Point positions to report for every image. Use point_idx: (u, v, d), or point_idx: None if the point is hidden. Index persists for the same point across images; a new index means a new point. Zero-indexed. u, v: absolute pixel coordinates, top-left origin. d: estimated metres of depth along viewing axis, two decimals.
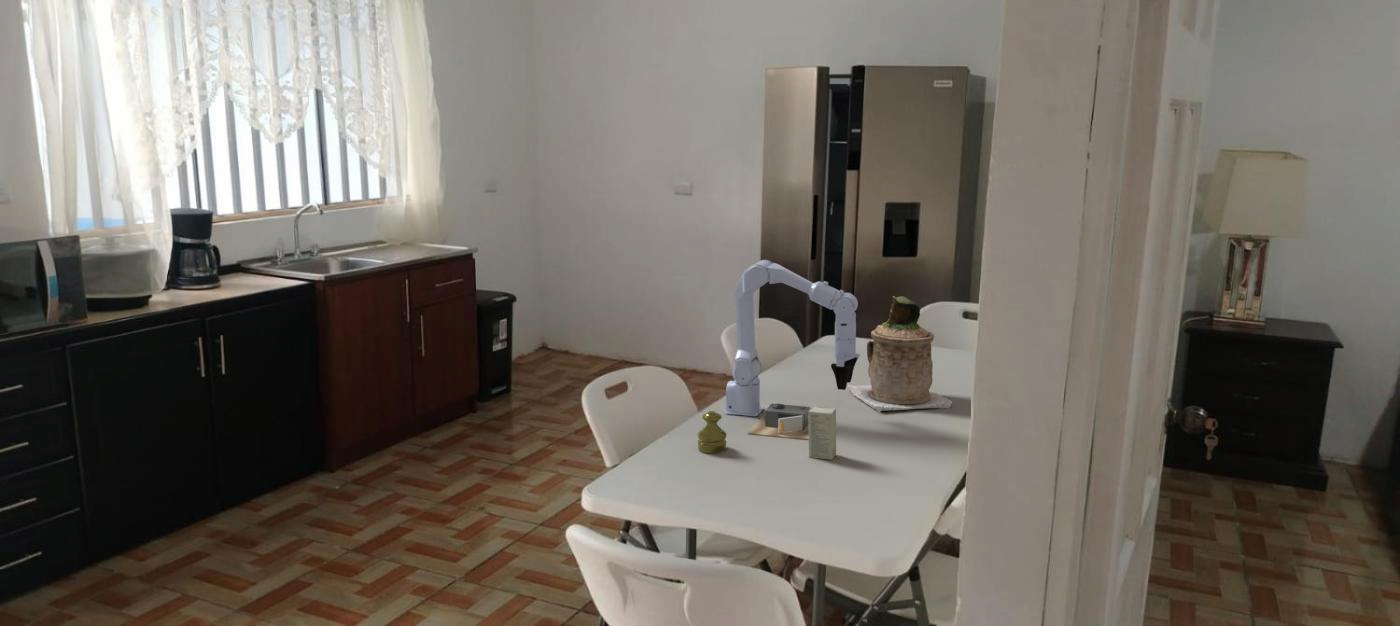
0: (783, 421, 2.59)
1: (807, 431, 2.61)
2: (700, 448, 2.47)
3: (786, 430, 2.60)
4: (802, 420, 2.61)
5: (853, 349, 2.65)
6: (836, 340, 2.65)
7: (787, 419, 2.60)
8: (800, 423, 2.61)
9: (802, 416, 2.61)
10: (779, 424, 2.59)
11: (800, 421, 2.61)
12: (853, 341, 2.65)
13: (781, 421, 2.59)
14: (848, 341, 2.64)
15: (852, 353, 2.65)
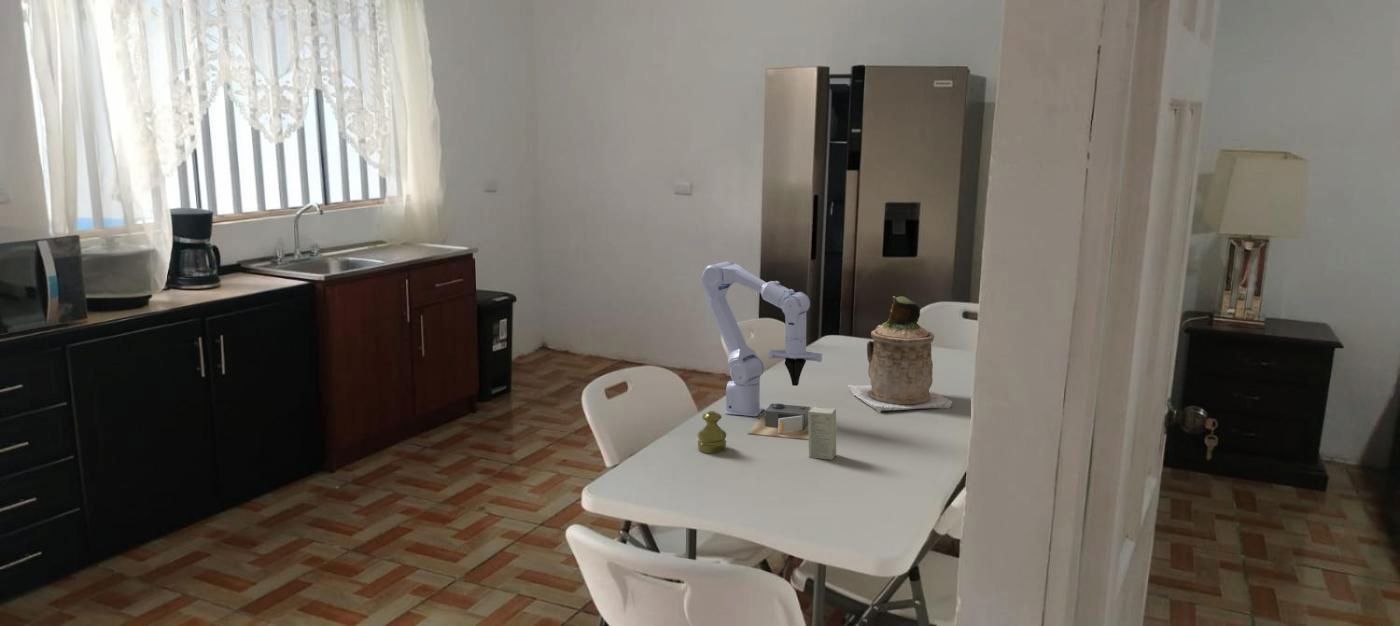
0: (783, 421, 2.59)
1: (807, 431, 2.61)
2: (700, 448, 2.47)
3: (786, 430, 2.60)
4: (802, 420, 2.61)
5: (789, 348, 2.65)
6: None
7: (787, 419, 2.60)
8: (800, 423, 2.61)
9: (802, 416, 2.61)
10: (779, 424, 2.59)
11: (800, 421, 2.61)
12: (789, 340, 2.65)
13: (781, 421, 2.59)
14: (785, 338, 2.66)
15: (788, 352, 2.66)
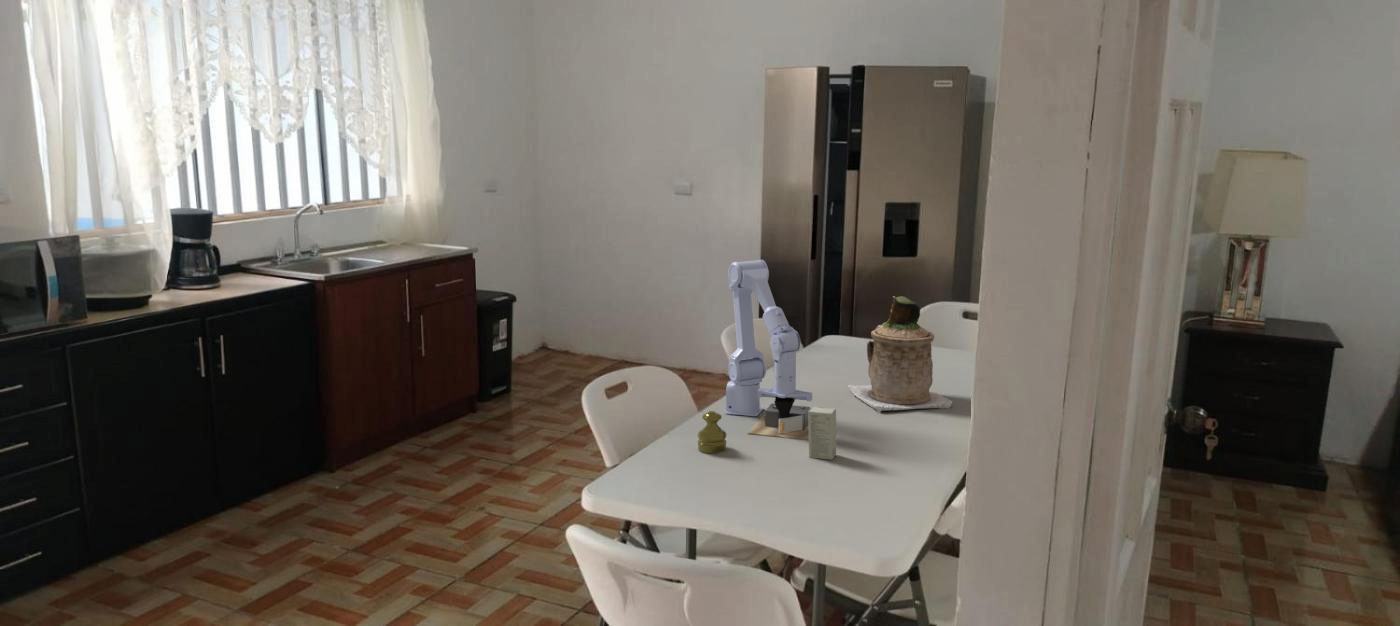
0: (783, 421, 2.59)
1: (807, 431, 2.61)
2: (700, 448, 2.47)
3: (786, 430, 2.60)
4: (802, 420, 2.61)
5: (778, 387, 2.58)
6: None
7: (787, 419, 2.59)
8: (800, 423, 2.61)
9: (802, 416, 2.61)
10: (780, 424, 2.59)
11: (800, 421, 2.61)
12: (778, 379, 2.58)
13: (781, 421, 2.59)
14: (774, 377, 2.59)
15: (777, 391, 2.58)
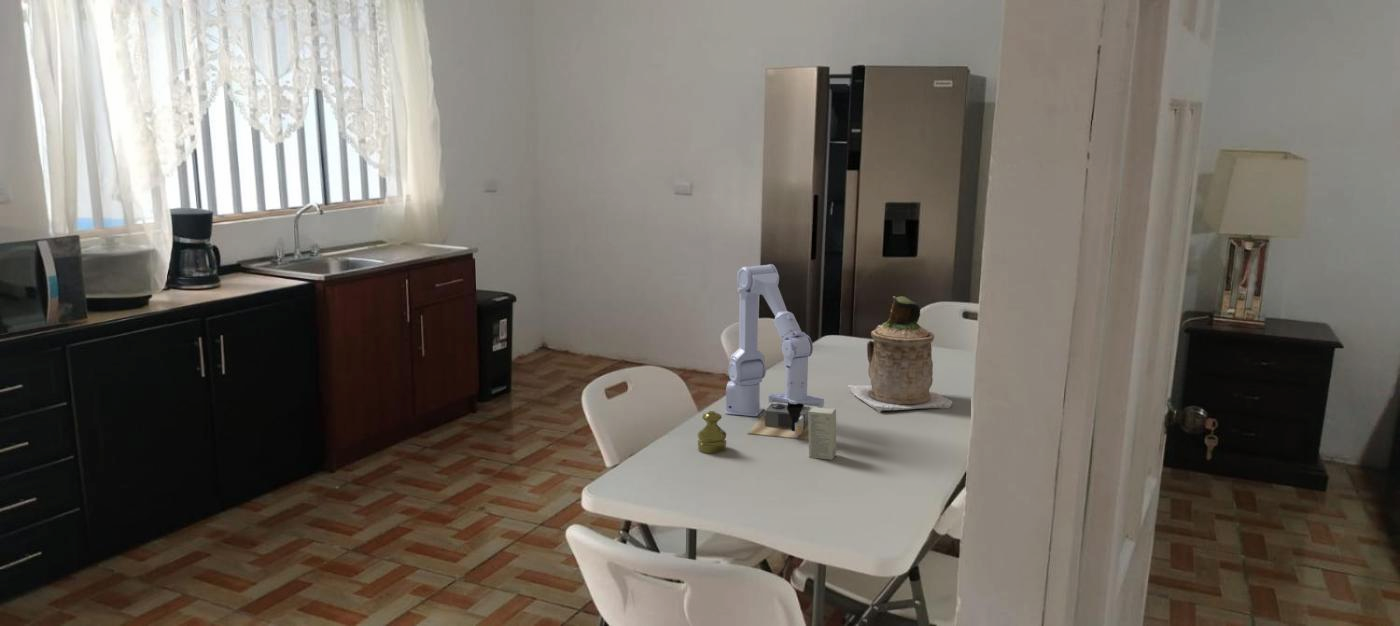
0: (798, 425, 2.56)
1: (807, 431, 2.61)
2: (700, 448, 2.47)
3: (799, 433, 2.58)
4: (803, 420, 2.61)
5: (789, 393, 2.54)
6: None
7: (799, 422, 2.57)
8: (802, 423, 2.61)
9: (803, 416, 2.61)
10: (797, 428, 2.55)
11: (802, 421, 2.61)
12: (789, 385, 2.53)
13: (797, 425, 2.56)
14: (786, 383, 2.55)
15: (788, 397, 2.54)
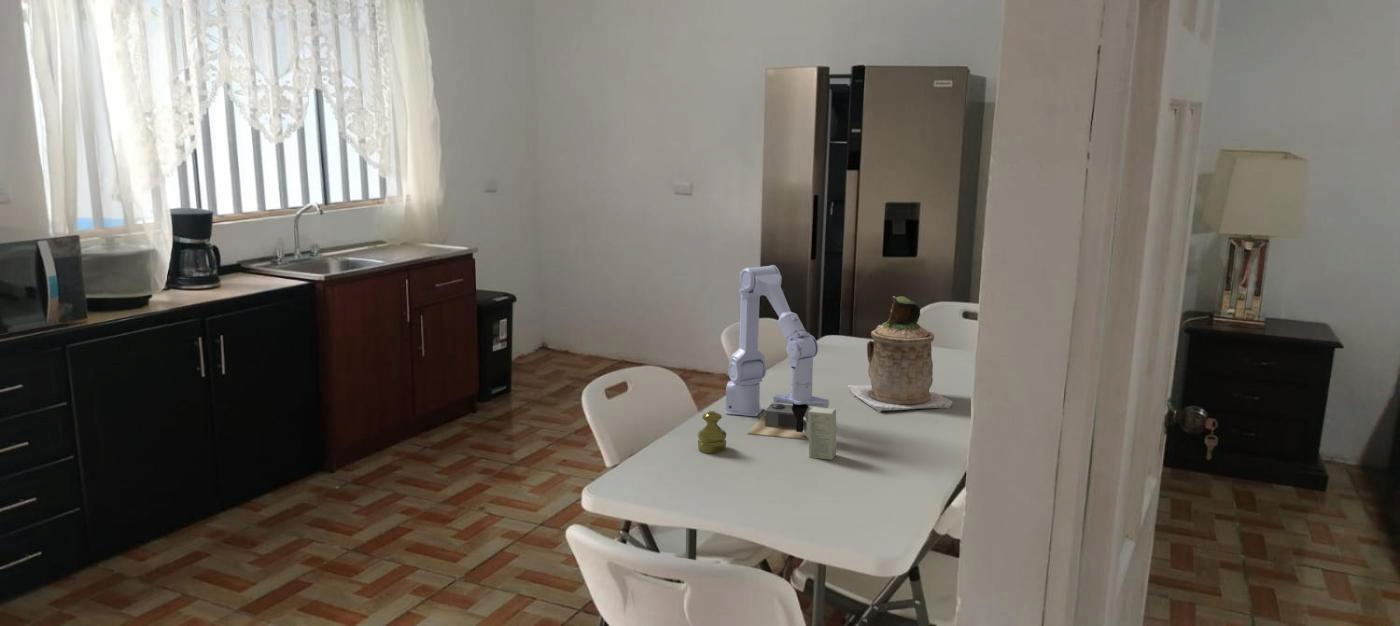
0: None
1: None
2: (700, 448, 2.47)
3: None
4: None
5: (794, 394, 2.53)
6: None
7: None
8: None
9: None
10: None
11: None
12: (794, 385, 2.53)
13: None
14: (790, 383, 2.54)
15: (793, 397, 2.54)
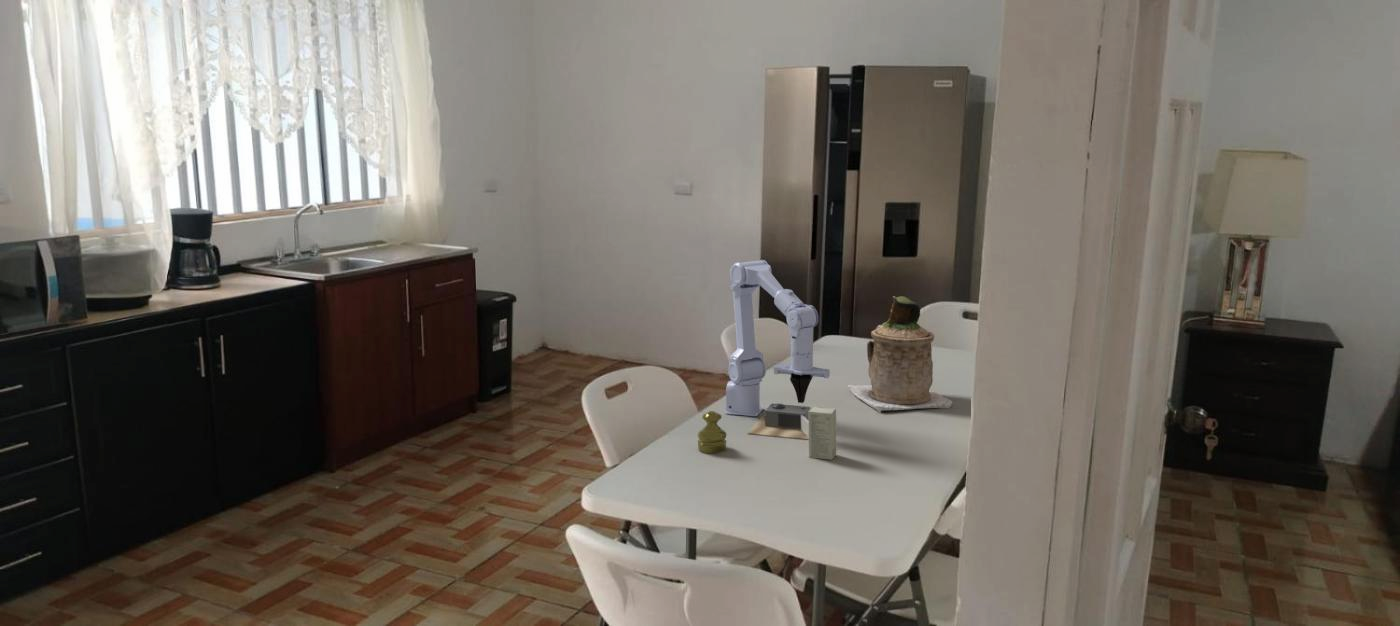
0: None
1: None
2: (700, 448, 2.47)
3: None
4: None
5: (795, 364, 2.53)
6: None
7: None
8: None
9: (803, 416, 2.61)
10: None
11: None
12: (794, 355, 2.52)
13: None
14: (791, 353, 2.54)
15: (793, 368, 2.53)
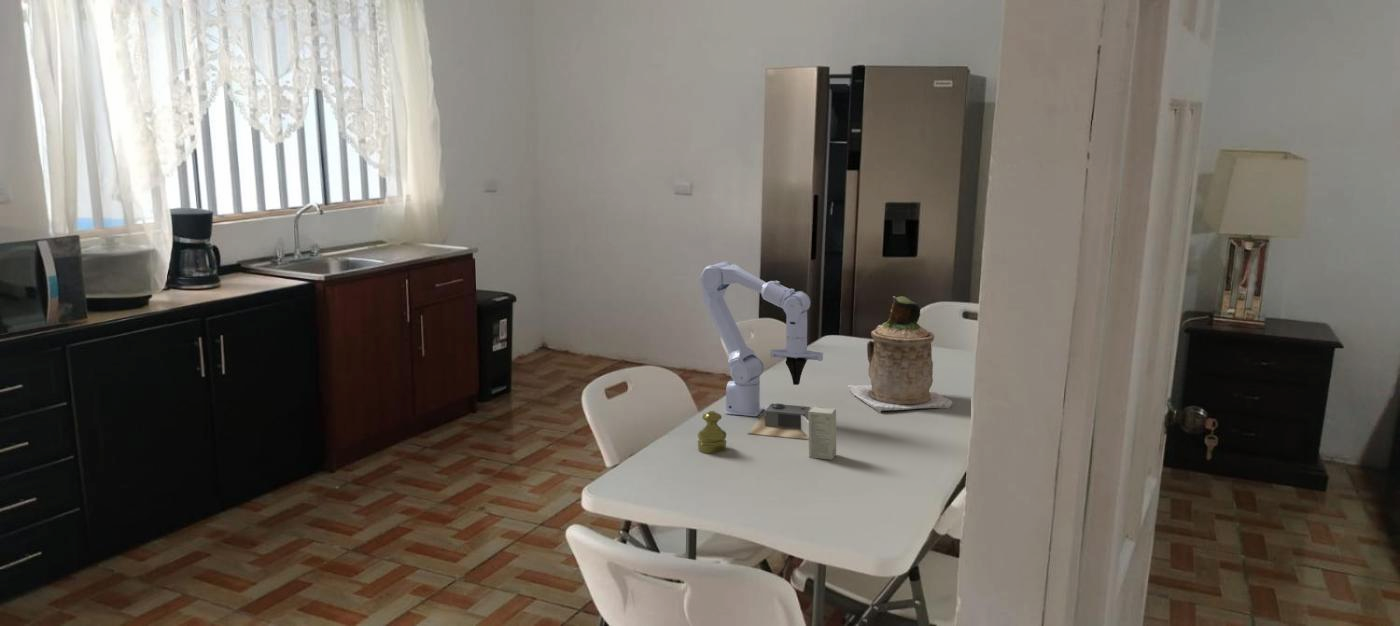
0: None
1: None
2: (700, 448, 2.47)
3: None
4: None
5: (790, 348, 2.66)
6: None
7: None
8: None
9: None
10: None
11: None
12: (790, 340, 2.66)
13: None
14: (786, 338, 2.67)
15: (789, 351, 2.67)
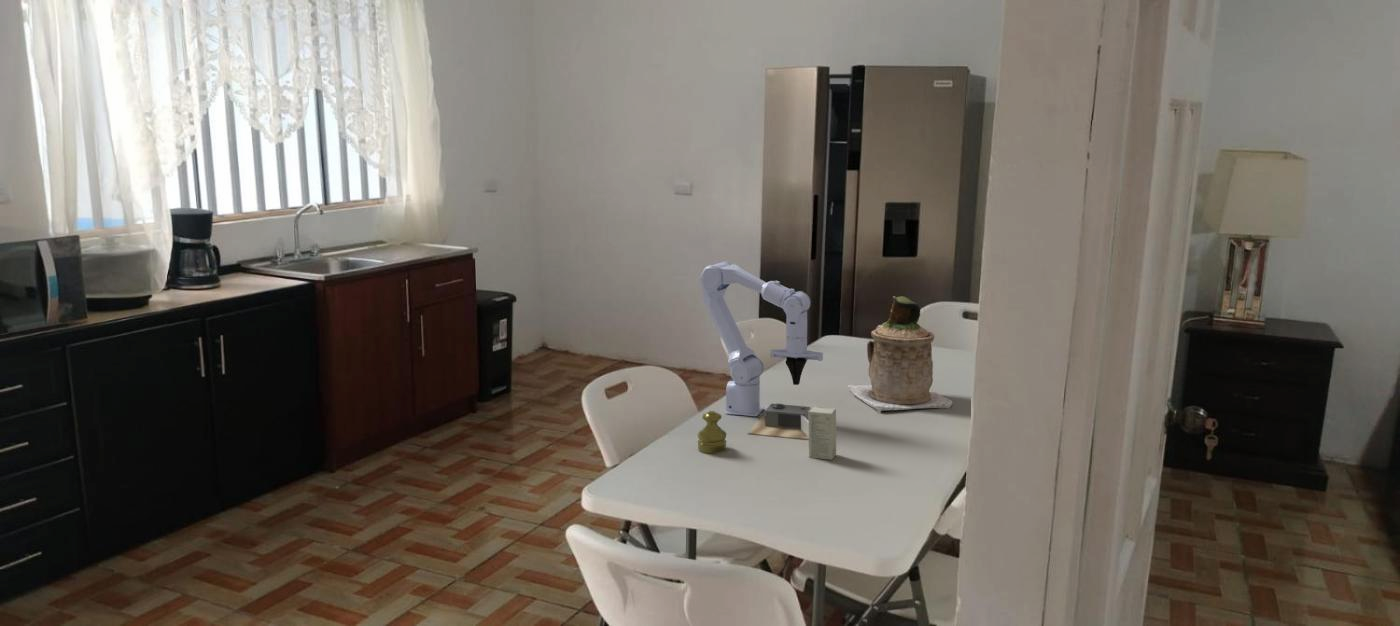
0: None
1: None
2: (700, 448, 2.47)
3: None
4: None
5: (790, 348, 2.66)
6: None
7: None
8: None
9: None
10: None
11: None
12: (790, 340, 2.66)
13: None
14: (786, 338, 2.67)
15: (789, 351, 2.67)
